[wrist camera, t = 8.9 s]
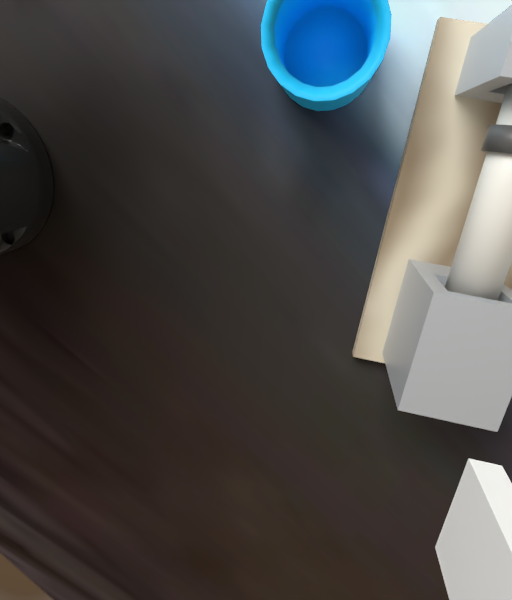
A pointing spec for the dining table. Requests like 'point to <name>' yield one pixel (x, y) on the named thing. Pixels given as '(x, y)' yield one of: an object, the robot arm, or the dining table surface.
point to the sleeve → (449, 350)
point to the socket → (488, 61)
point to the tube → (488, 217)
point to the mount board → (429, 181)
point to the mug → (325, 47)
